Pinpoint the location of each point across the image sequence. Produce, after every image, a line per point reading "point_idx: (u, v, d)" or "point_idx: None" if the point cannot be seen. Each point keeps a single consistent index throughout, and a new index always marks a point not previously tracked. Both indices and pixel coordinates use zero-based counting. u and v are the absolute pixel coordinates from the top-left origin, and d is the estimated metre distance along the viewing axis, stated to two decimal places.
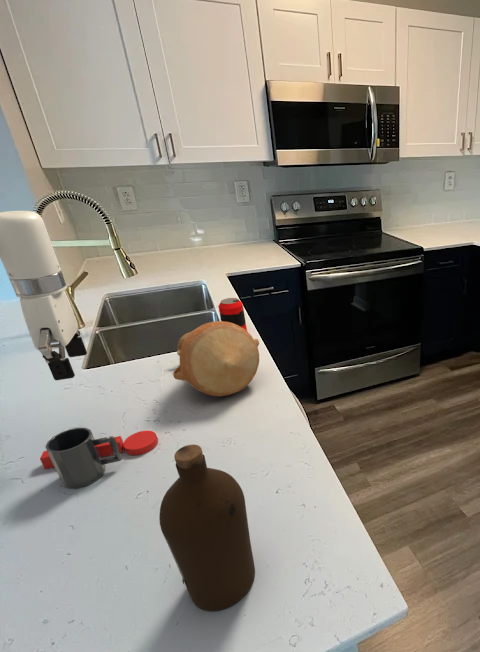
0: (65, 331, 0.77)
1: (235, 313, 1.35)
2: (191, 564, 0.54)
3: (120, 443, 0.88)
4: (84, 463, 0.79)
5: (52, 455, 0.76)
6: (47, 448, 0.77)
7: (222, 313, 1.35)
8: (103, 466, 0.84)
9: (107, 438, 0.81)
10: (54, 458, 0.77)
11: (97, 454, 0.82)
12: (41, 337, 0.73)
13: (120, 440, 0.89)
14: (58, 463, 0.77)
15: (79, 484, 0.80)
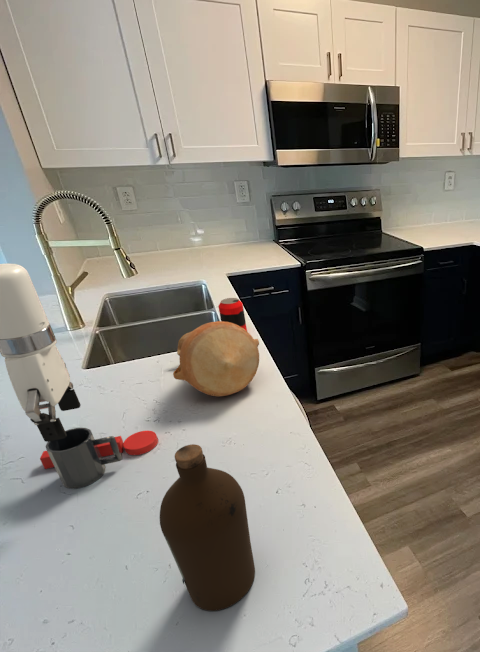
0: (55, 389, 0.71)
1: (235, 313, 1.35)
2: (191, 564, 0.54)
3: (120, 443, 0.88)
4: (84, 463, 0.79)
5: (52, 455, 0.76)
6: (47, 448, 0.77)
7: (222, 313, 1.35)
8: (103, 466, 0.84)
9: (107, 438, 0.81)
10: (54, 458, 0.77)
11: (97, 454, 0.82)
12: (28, 399, 0.67)
13: (120, 440, 0.89)
14: (58, 463, 0.77)
15: (79, 484, 0.80)
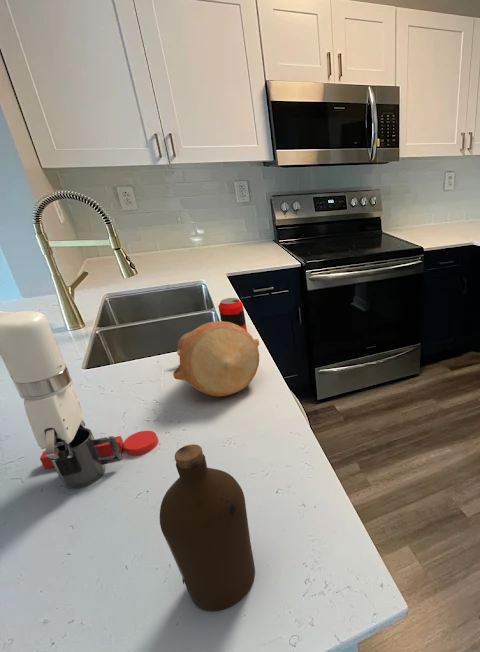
0: (70, 427, 0.75)
1: (235, 313, 1.35)
2: (191, 564, 0.54)
3: (120, 443, 0.88)
4: (84, 463, 0.79)
5: None
6: None
7: (222, 313, 1.35)
8: (103, 466, 0.84)
9: (107, 438, 0.81)
10: None
11: (97, 454, 0.82)
12: (47, 441, 0.72)
13: (120, 440, 0.89)
14: None
15: (79, 484, 0.80)
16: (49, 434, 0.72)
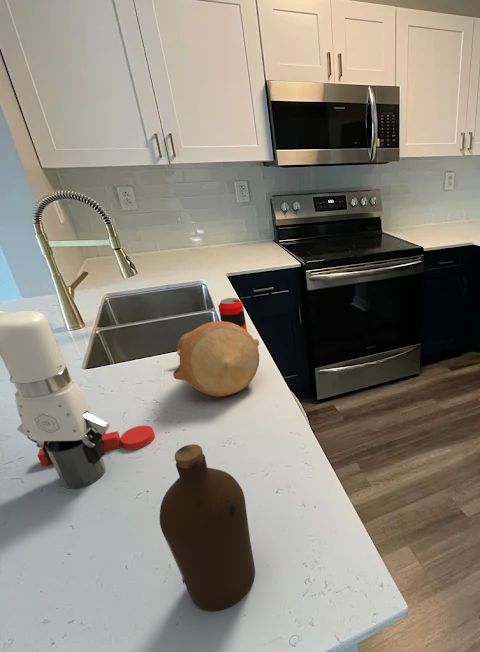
0: None
1: (235, 313, 1.35)
2: (191, 564, 0.54)
3: (117, 438, 0.90)
4: None
5: (78, 450, 0.77)
6: (66, 450, 0.76)
7: (222, 313, 1.35)
8: None
9: None
10: (80, 453, 0.78)
11: None
12: (94, 420, 0.77)
13: (117, 435, 0.90)
14: (84, 456, 0.79)
15: (101, 472, 0.83)
16: (88, 416, 0.77)
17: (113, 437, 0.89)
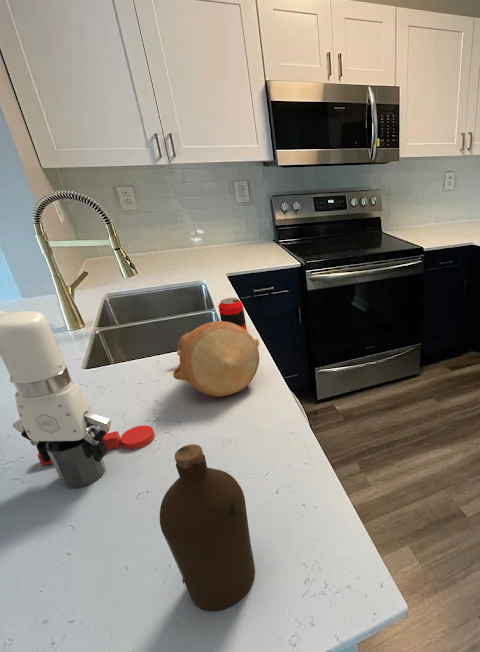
0: None
1: (235, 313, 1.35)
2: (191, 564, 0.54)
3: (117, 438, 0.90)
4: None
5: (78, 450, 0.77)
6: (66, 450, 0.76)
7: (222, 313, 1.35)
8: None
9: None
10: (80, 453, 0.78)
11: None
12: (94, 418, 0.76)
13: (117, 435, 0.90)
14: (84, 456, 0.79)
15: (101, 472, 0.83)
16: (88, 415, 0.76)
17: (113, 437, 0.89)
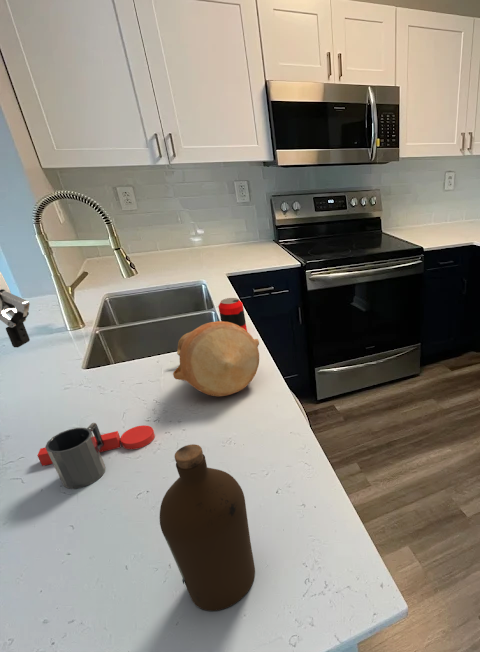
0: None
1: (235, 313, 1.35)
2: (191, 564, 0.54)
3: (117, 438, 0.90)
4: (98, 449, 0.83)
5: (78, 450, 0.77)
6: (66, 450, 0.76)
7: (222, 313, 1.35)
8: None
9: (92, 425, 0.85)
10: (80, 453, 0.78)
11: None
12: (10, 297, 0.73)
13: (117, 435, 0.90)
14: (84, 456, 0.79)
15: (101, 472, 0.83)
16: (5, 293, 0.73)
17: (113, 437, 0.89)
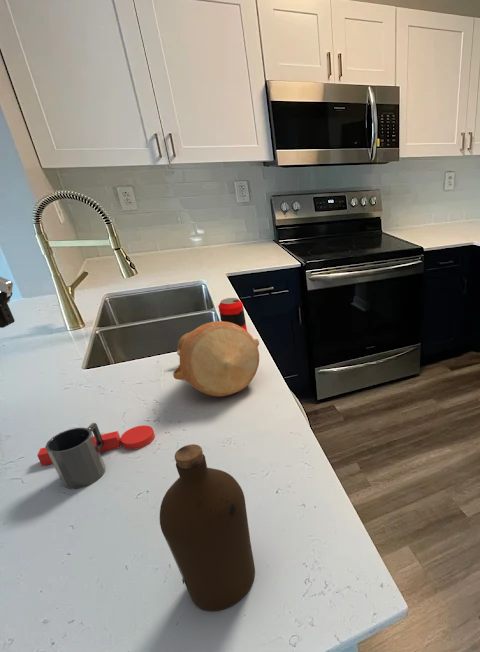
0: None
1: (235, 313, 1.35)
2: (191, 564, 0.54)
3: (117, 438, 0.90)
4: (98, 449, 0.83)
5: (78, 450, 0.77)
6: (66, 450, 0.76)
7: (222, 313, 1.35)
8: None
9: (92, 425, 0.85)
10: (80, 453, 0.78)
11: None
12: None
13: (117, 435, 0.90)
14: (84, 456, 0.79)
15: (101, 472, 0.83)
16: None
17: (113, 437, 0.89)
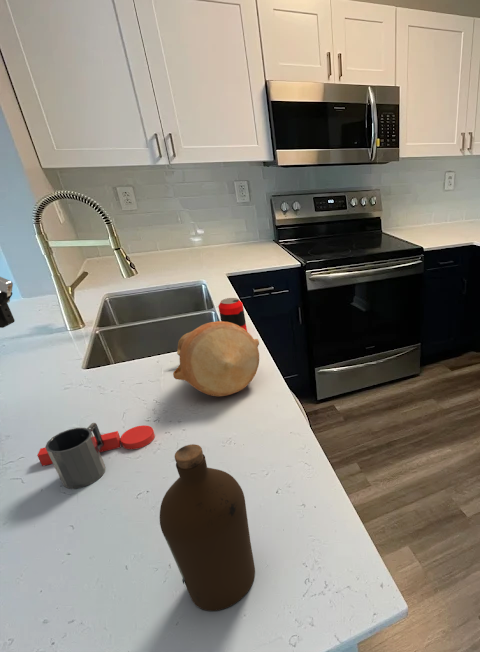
0: None
1: (235, 313, 1.35)
2: (191, 564, 0.54)
3: (117, 438, 0.90)
4: (98, 449, 0.83)
5: (78, 450, 0.77)
6: (66, 450, 0.76)
7: (222, 313, 1.35)
8: None
9: (92, 425, 0.85)
10: (80, 453, 0.78)
11: None
12: None
13: (117, 435, 0.90)
14: (84, 456, 0.79)
15: (101, 472, 0.83)
16: None
17: (113, 437, 0.89)
